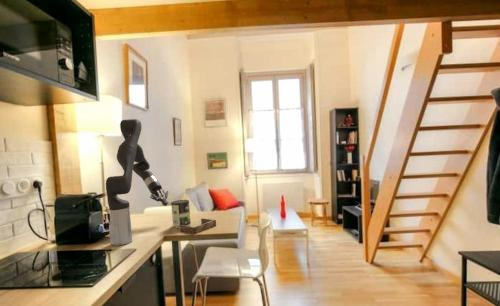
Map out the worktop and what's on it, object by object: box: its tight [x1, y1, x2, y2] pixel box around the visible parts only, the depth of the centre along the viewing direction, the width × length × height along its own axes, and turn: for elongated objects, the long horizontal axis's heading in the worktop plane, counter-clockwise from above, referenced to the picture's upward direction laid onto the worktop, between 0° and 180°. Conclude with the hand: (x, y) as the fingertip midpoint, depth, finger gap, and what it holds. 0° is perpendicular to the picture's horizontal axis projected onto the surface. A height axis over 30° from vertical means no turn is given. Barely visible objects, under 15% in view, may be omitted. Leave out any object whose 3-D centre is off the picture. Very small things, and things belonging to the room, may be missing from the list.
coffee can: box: [170, 199, 192, 229], centre depth 164 cm, size 10×10×14 cm
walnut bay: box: [180, 217, 217, 234], centre depth 155 cm, size 16×11×3 cm
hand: (166, 204), depth 172 cm, fingers closed
